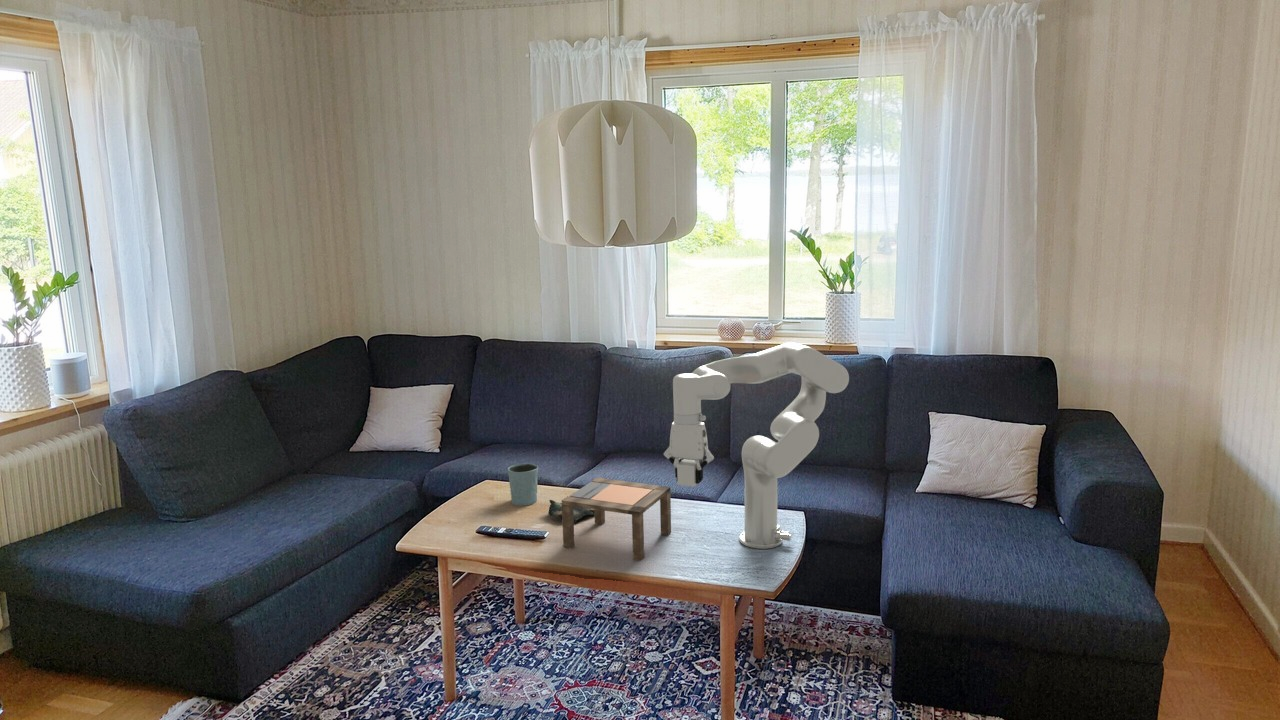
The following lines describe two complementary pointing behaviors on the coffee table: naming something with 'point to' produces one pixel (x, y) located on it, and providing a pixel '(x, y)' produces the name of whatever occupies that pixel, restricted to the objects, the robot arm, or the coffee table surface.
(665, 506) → the miniature wooden side table
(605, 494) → the trapdoor
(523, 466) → the teal cup
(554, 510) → the decorative rock
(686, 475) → the light gray block
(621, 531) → the coffee table surface
